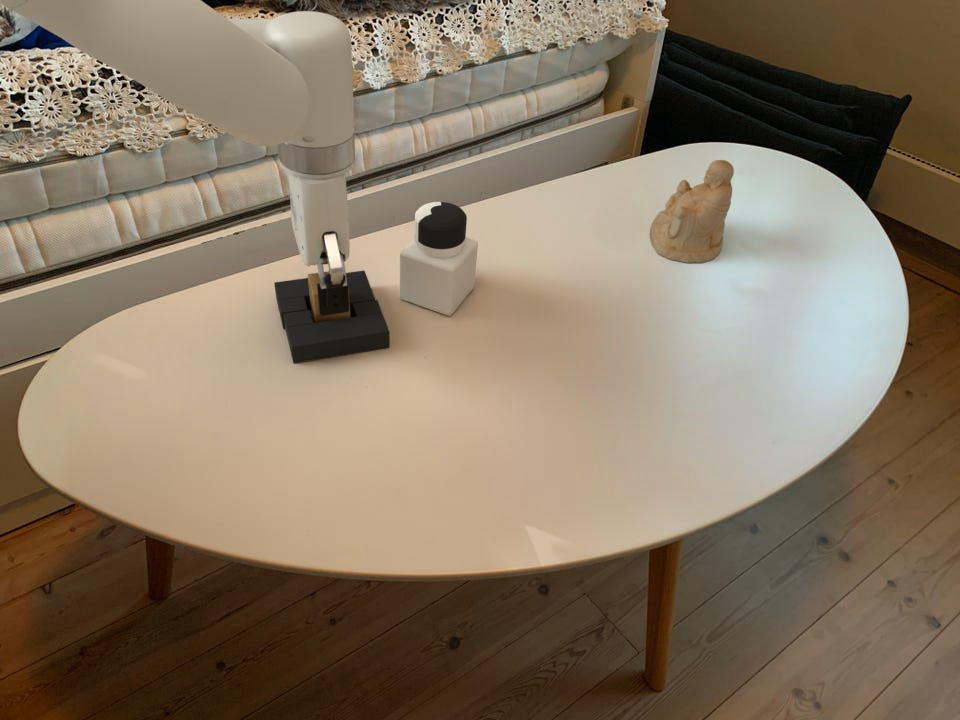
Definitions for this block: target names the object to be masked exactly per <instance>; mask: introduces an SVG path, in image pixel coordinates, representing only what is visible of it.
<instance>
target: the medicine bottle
mask: <svg viewBox="0 0 960 720" xmlns="http://www.w3.org/2000/svg"><path fill="white" fill-rule="evenodd" d="M467 221H468V217H467V214H466V212H465V210H463V208H461V207H460V206H458V205H457V204H454V203H452V202H446V201H433V202H428V203H425V204H423V205H421V206H420V207H419V208H418V209H417V210H416V211H415V214H414V238H413V239H412V240H411V241H410V242H409V243H408V244H407V245H406V246H405V247H404V248H403V249H402V250H401V251H400V253H399V299H401V300H402V301H405V302H408V303H411V304H413V305H417V306H418V307H422V308H424V309H428V310H429V311H430V310H431V311H433V312H436V313H439V314H442V315H445V316H446V317H450V316H452V315H453V314H454V313H455V311H456V310H457V309H458V308H459V306H461V304H462V303H463V301H464V300H465V299H466V298H467V296H469V295H470V293H471V291H472V290H473V289H474V288H475V286H476V285H475V284H476V270H477V260H478V250H479V249H478V246H479V243H478V240H475V239H472V238H469V237H467V223H468V222H467Z"/></svg>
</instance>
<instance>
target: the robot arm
mask: <svg viewBox="0 0 960 720" xmlns="http://www.w3.org/2000/svg"><path fill="white" fill-rule="evenodd" d="M0 4H1V5H3V6H4V7H5V8H7V9H8V10H10V11H13V12H14V13H16V14H17V15H20V16H22V17H24V18H25V19H27V20H29V21H31V22H33V23H34V24H36V25H38V26H40V27H41V28H42V29H44V30H47V31H48V32H50V33H52V34H53V35H55V36H57V37H59V38H61V39H62V40H63V41H65V42H66V43H68V44H69V45H70V46H73V47H74V48H76V49H77V50H79V51H81V52H83V54H86V55H88V56H89V57H91V58H93V59H95V60H97V61H99V62H101V63H102V64H104V65H106V66H108V67H110V68H112V69H114V70H116V71H117V72H120V73H121V74H123V75H125V76H126V77H128V78H130V79H132V80H133V81H135V82H136V83H138V84H140V85H142V86H143V87H145V88H147V89H148V90H150V91H152V92H153V93H154V94H157V95H158V96H160V97H161V98H163V99H165V100H167V101H168V102H170V103H172V104H174V105H175V106H177V107H179V108H180V109H182V110H184V111H186V112H188V113H189V114H191V115H193V116H195V117H196V118H199V119H200V120H202V121H204V122H206V123H208V124H210V125H211V126H213V127H214V128H216V129H219V130H220V131H223V132H225V133H226V134H228V135H230V136H232V137H234V138H236V139H237V140H240V141H242V142H243V143H247V144H248V145H252V146H258V147H274V146H277V153H278V155H277V156H278V163H279V166H280V168H281V169H282V170H283V171H284V172H285V173H287V174H288V186H289V187H288V188H289V201H290V202H289V203H290V219H291V225H292V230H293V233H294V238H295V242H296V245H297V249H298V252H299V255H300V258H301V261H302V263H303V265H305V266H307V267H311V266H316V269H317V273H318V275H319V281H320V283H319V284H317V290H318V303H319V312H320V314H321V315H322V316H324V315H331V314H338V313H345V312H348V311H349V294H348V281H347V278H346V273H347V272H346V265H345V262H346V261H348V260H349V258H350V253H351V252H350V248H351V247H350V246H351V244H350V243H351V242H350V219H349V202H348V191H347V190H348V189H347V176H346V174H347V173H349V172H351V171H352V169H353V168H354V167H355V165H356V146H355V145H356V143H355V142H356V141H355V115H354V114H355V113H354V111H355V110H354V87H353V86H354V81H353V57H352V55H353V52H352V38H351V37H352V36H351V34H350V30H349V28H348V27H347V25H346V24H345V22H343V21H342V20H341V19H339V18H338V17H336V16H334V15H332V14H328V13H326V12H320V11H313V10H312V11H311V10H308V11H307V10H301V11H300V10H299V11H292V12H288V13H284V14H281V15H279V16H277V17H274V18H227V17H225V16H223V14H221V13H219V12H218V11H217V10H215V9H214V8H212V7H211V6H210V5H208V4H207V3H205V2H204V1H203V0H0ZM324 265H327V266H328V271H329V274H326V276H325V274H324V272H325V268H324Z"/></svg>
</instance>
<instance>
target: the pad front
mask: <svg viewBox="0 0 960 720" xmlns="http://www.w3.org/2000/svg"><path fill="white" fill-rule="evenodd" d="M283 315H284V323H285V329H284V331H285V334H286V338H287V342H288V348H289V351H290V355H291V360H292V363H293V364H299V363H305V362H310V361H316V360H324V359H329V358H334V357H335V358H336V357H341V356H347V355H353V354H359V353H365V352H370V351H371V352H372V351H376V350H384V349H390V346H391V345H390V344H391V343H390V329H389V327H388V324H387V321H386V319H385V316H384V314H383V311H382V309H381V306H380V302H379V300H378V299H375V300H373V301H366V302H359V303H353V317H350V318H345V319H338V320H332V321H325V322H319V323H314V322H313V319H312V315H311V312H310V310H305V311H298V312H291V313H284V314H283Z"/></svg>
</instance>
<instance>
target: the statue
mask: <svg viewBox="0 0 960 720" xmlns="http://www.w3.org/2000/svg"><path fill="white" fill-rule="evenodd" d="M734 172H735V169H734V166H733V164H732V163H730V162H729V161H727V160H726V159H717V160H713V161H711V162H710V163H709V166H708V167H707V169H706V170H705V174H704V175H705V176H704V177H703V182H702V183H699V184H696V185H694V186H693V187H691V184H690V183H689V181H687V180H686V179H683V180H681V181H680V182H679V184H678V185H677V187H676V191H675V192H674V193H672V194H671V195H670V197H669V198H668V200H667V201H666V203H665V206H664V207H665V209H664V210H662V211H659V212H658V214H657V215H656V216H655V217H654V219H653V222H652V223H651V226H650V229H649V238H650V243H651V245H652V247H653V248H654V251H656V253H657V255H660V256H662V257H663V258H666V259H668V260H671V261H676V262H681V263H685V264H686V263H687V264H694V263H697V264H702V263H705V262H710V261H712V260H714V259H716V257H718V256H719V255H720V252H721V251H722V248H723V243H724V233H725V227H726V219H727V216H728V212H729V210H730V207H731V204H732V201H731V200H732V197H733V186H732V179H733V177H734V174H735V173H734Z"/></svg>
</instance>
